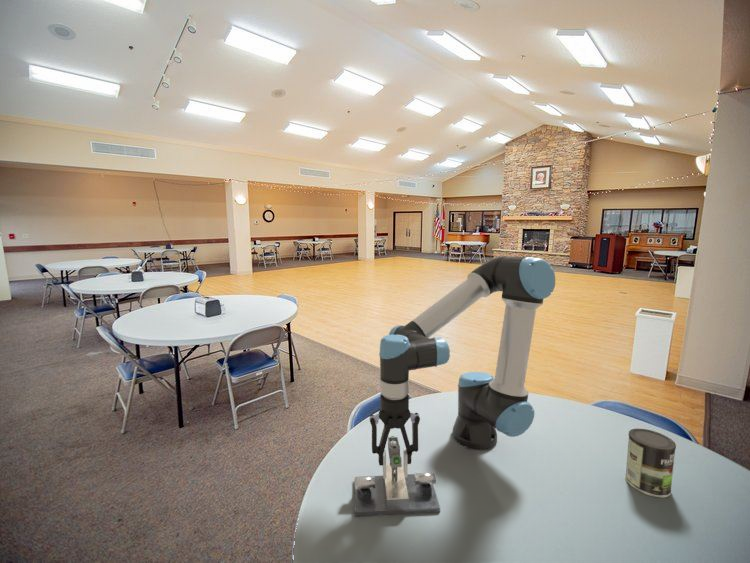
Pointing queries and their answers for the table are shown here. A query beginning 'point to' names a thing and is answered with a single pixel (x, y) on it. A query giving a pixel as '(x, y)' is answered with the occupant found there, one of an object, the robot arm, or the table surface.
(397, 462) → the mechanical component
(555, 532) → the table surface
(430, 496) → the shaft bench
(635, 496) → the table surface
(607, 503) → the table surface
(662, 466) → the coffee can
